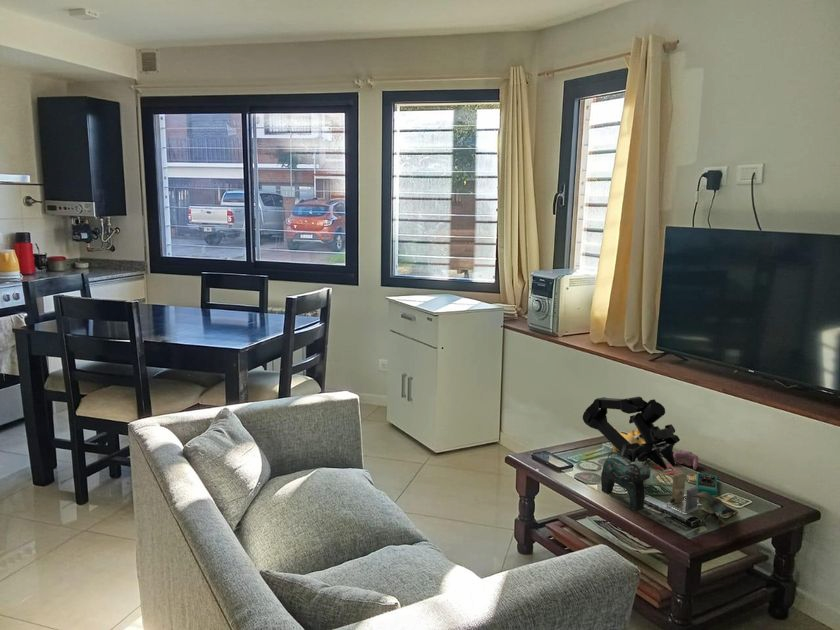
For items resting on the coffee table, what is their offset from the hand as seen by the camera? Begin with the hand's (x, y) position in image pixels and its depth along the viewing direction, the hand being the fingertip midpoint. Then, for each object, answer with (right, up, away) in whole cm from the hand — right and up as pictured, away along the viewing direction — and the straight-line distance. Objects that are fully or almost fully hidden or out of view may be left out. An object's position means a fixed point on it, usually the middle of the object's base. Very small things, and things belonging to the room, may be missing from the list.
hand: (670, 467), depth 227 cm
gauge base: (+3, -13, -3) cm, 14 cm away
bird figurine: (+9, -15, -12) cm, 22 cm away
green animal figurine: (-16, -13, +2) cm, 21 cm away
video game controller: (+18, -7, +32) cm, 38 cm away
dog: (-1, -5, +42) cm, 42 cm away
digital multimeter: (+19, -11, +13) cm, 25 cm away
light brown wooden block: (+1, -12, -2) cm, 12 cm away
